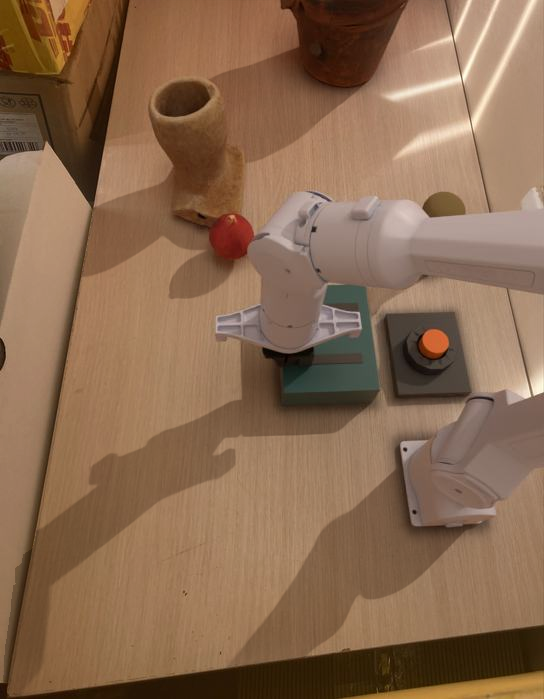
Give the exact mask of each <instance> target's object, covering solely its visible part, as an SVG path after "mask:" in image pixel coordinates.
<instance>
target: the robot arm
mask: <svg viewBox="0 0 544 699" xmlns="http://www.w3.org/2000/svg"><path fill="white" fill-rule="evenodd" d="M247 253H248V254H247V257H248V260H249V262H250V264H251V266H252V267H253V268H254V270H255V271H256V272H257V274H258V275H259V276H260V277H261V278H260V303H258V304H254V305H252V306H249V307H246V308H243V309H241V310H238V311H235V312H231V313H228V314H227V313H226V314H221V315H215V316H214V334H215V341H216V342H218V343H219V342H226V341H228V338H230V339H235V340H238V341H242V342H245V343H248V344H251V345H254V346H257V347H261V350H262V355H263V356H264V358H265V359H267V360H273V361H274V362H275V363H276V364H277V367H278V368H280V367H289V366H290V365H291V364H293V363H294V362H295V361H297V360H298V359H301V358H308V357H311V355H312V354H313V351H314V346H316V345H319V344H321V343H324V342H327V341H329V340H332V339H335V338H337V337H340V336H343V335H346V334H348V337H350V338H358V337H359V335H360V332H361V330H362V326H361V319H360V312H349V311H344V310H340V309H336V308H333V307H329V306H326V305H323V301H324V297H325V293H326V289H327V285H329V283H330V284H337V285H356V286H365V287H366V288H376V289H385V290H394V291H402V290H403V291H404V290H405V289H408V288H410V287H411V286H412V285H413V284H415V283H417V281H418V280H419V279H420V278H421V277H422V276H423V275H425V276H431V277H435V278H443V279H449V280H455V281H460V282H465V283H471V284H478V285H483V286H490V287H495V288H501V289H508V290H512V291H513V290H514V291H518V292H519V291H520V292H524V293H531V294H536V295H542V296H544V207H543V208H531V209H519V210H518V209H517V210H507V211H495V212H494V211H493V212H483V213H481V212H480V213H470V214H465V215H457V216H445V217H432V218H430V217H429V216H428V215H427V214H426V213H425V212H424V210H423V209H422V207H421V206H420V205H419V204H418V203H417V202H415V201H414V200H411V199H406V198H405V199H379V197H378V196H377V195H363V196H361V197H360V198H359V199H358V200H342V201H341V200H340V201H338V200H337V201H335V200H334V199H333V198H332V197H330V196H329V195H327V194H325V193H322V192H321V191H317V190H313V189H307V190H303V191H302V190H300V191H295V192H292V193H290V194H289V195H288V196H287V198H285V200H284V201H283V202H282V204H281V205H279V207H278V208H277V209H276V210H275V211H274V212H273V214H272V215H271V216H270V217H269V219H267V221H266V222H265V223H264V224H263V225H262V227H261V228H260V229H259V230H258V232H257V233H256V234H254V238H253V240H252V242H251V243H250V244H249V246H248V249H247ZM464 402H465V405H464V407H463V409H462V410H461V413H460V414H459V416H458V417H457V419H456V420H455V421H453V422H450V423H448V424H446V425H445V426H443V427H442V428H441V429H439V431H437V432H436V433H435V434H434V435H432V437H430V438H429V439H427V440H426V439H423V440H403V441H401V442H400V443H399V452H400V458H401V459H400V460H401V465H402V471H403V478H404V486H405V494H406V500H407V506H408V514H409V520H410V524H411V525H412V526H413V527H417V528H418V527H436V526H437V527H439V526H445V527H444V528H459V527H463V526H464V525H477V524H478V525H479V524H481V523H483V522H484V521H487V520H490V519H493V518H496V517H497V509H496V503H497V502H500V501H507V499H509V498H510V497H511V496H512V495H513V493H514V492H515V491H516V490H517V489H518V488H519V487H520V486H521V485H522V483H523V482H524V481H525V480H526V479H527V478H528V477H529V475H531V473H532V472H533V471H534V470H536V469H541V468H544V391H543V392H540V393H538V394H535V395H532V396H530V397H527V398H525V397H524V396H522V395H520V394H518V393H516V392H515V391H513V390H510V389H509V388H504V389H502V390H500V391H495V392H494V391H476V392H471V393H470V394H469V395H467V398H466V400H465V401H464ZM404 449H405V450H406V451H405V450H404ZM413 511H414V512H415V514H414V513H413Z"/></svg>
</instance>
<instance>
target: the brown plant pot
mask: <svg viewBox="0 0 544 699" xmlns="http://www.w3.org/2000/svg"><path fill="white" fill-rule="evenodd" d="M279 1H280V2H279V3H280V9H281V10H283V11H285V10H289V11H290V12H291V13H292V16H293V17H294V19H295V22H296V29H297V38H298V44H299V52H300V54H299V55H300V62H301V63H302V65H303V67H304V69H305V70H306V71H307V72H308V73H309V74H310V75H311V76H312V77H313V78H315V79H316V80H319V81H320V82H322V83H325V84H328V85H331V86H335V87H345V88H346V87H353V86H358V85H361V84H363V83H365V82H368V81H369V80H370V79H371V78H372V77H373V76H374V74H375V73H376V71H377V70H378V67H379V66H380V63H381V61H382V59H383V57H384V54H385V52H386V50H387V48H388V45H389V43H390V41H391V39H392V36H393V34H394V32H395V30H396V28H397V25H398V24H399V21H400V19H401V17H402V14H403V12H404V11H405V10H406V8H407V6H408V3H409V0H279Z"/></svg>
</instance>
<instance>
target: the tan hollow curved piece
mask: <svg viewBox="0 0 544 699" xmlns="http://www.w3.org/2000/svg"><path fill="white" fill-rule="evenodd" d="M147 106H148V107H147V111H148V117H149V121H150V123H151V128H152V130H153V133H154V137H155V138H156V141H157V142H158V144H159V146H160V147H161V149H162V151H163V152H164V153H165V155H166V156H167V157H168V159H169V161H170V162H171V164H172V165H173V167H174V169H175V172H174V173H175V174H174V178H173V179H174V181H173V186H172V187H173V188H172V200H171V204H170V211H171V213H172V214H174V215H175V216H179V217H181V218H182V219H184V220H186V221H189V222H192V223H194V224H197V225H200V226H204V227H208V228H211V226H212V224H213V223H214V221H215V220H216V219H217V218H218V217H220V216H222V215H223V214H227V213H235V214H239V215H241V210H242V204H243V194H244V193H243V192H244V186H245V175H246V158H245V154H244V151H243V150H242V149H241V148H239V147H238V146H234V145H230V144H227V141H228V135H229V134H228V132H229V122H228V117H227V116H228V115H227V111H226V110H227V109H226V107H225V106H226V105H225V102H224V98H223V95H222V94H221V91H220V90H219V88H218V87H217V85H216V84H215V83H214V82H212V81H211V80H210V79H208V78H205V77H202V76H199V75H183V76H177V77H174V78H170V79H169V80H167V81H165V82H164V83H162V84H160V85H159V86H157V87H156V89H154V91H153V92H152V93H151V95H150V98H149V101H148V105H147Z"/></svg>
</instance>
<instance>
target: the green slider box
mask: <svg viewBox="0 0 544 699" xmlns="http://www.w3.org/2000/svg"><path fill="white" fill-rule="evenodd" d="M323 305H326V306H329V307H333V308H336V309H340V310H344V311H349V312H360V319H361V326H362V330H361V332H360V335H359V337H358V338H350V337H348V334H346V335H343V336H340V337H337V338H335V339H332V340H329V341H327V342H324V343H321V344H319V345H316V346H314V352H315V355H314V359H313V363H312V366H311V367H298V365H297V361H295V362H294V363H293V364H291V365H290V366H289V367H279V384H280V400H281V406H284V407H285V406H286V407H287V406H313V405H340V404H341V405H342V404H343V405H344V404H370V403H373V402H374V400H375V399H376V397H377V396H378V394H379V392H380V391H381V386H380V378H379V370H378V364H377V357H376V350H375V342H374V334H373V328H372V319H371V314H370V305H369V298H368V290H367V287H365V286H356V285H347V284H328V285H327V289H326V293H325V297H324V301H323Z"/></svg>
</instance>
